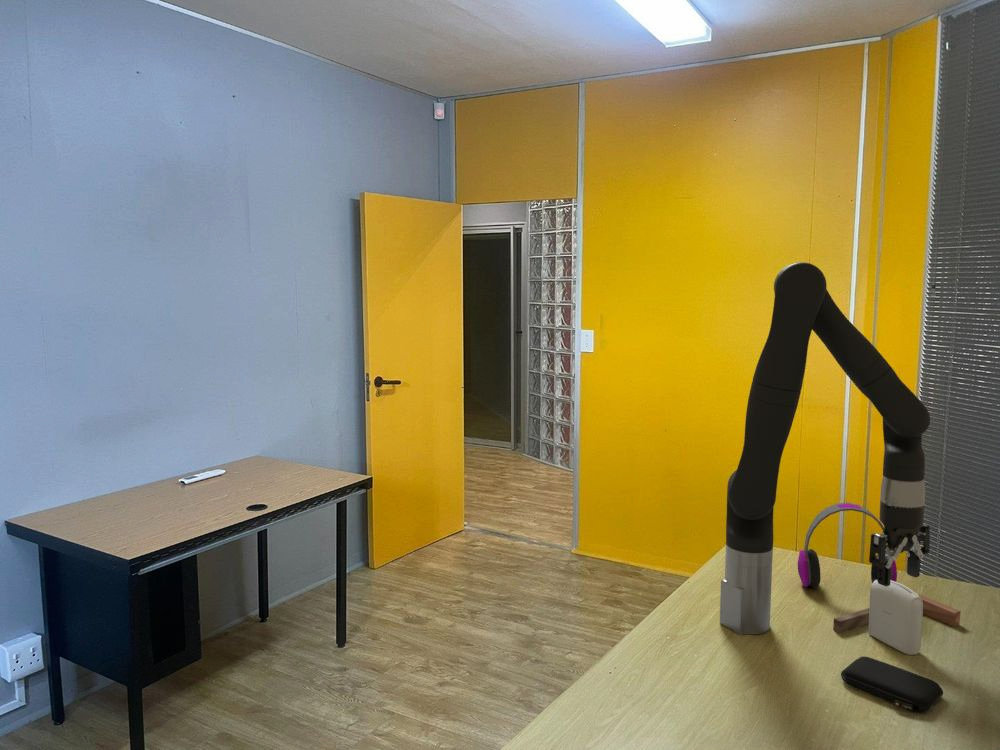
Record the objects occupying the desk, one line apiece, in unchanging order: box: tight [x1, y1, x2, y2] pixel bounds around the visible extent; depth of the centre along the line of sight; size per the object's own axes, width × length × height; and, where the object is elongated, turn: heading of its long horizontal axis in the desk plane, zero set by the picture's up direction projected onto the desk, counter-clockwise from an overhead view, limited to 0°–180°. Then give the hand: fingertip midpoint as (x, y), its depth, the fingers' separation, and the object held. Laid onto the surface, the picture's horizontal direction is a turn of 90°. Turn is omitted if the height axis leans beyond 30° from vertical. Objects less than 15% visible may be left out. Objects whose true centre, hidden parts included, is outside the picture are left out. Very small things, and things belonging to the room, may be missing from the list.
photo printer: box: [868, 580, 924, 656], centre depth 146 cm, size 10×4×12 cm, turn 20°
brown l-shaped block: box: [832, 594, 961, 634], centre depth 153 cm, size 25×10×3 cm, turn 116°
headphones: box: [797, 502, 898, 589], centre depth 171 cm, size 21×9×20 cm, turn 77°
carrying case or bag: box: [840, 656, 944, 714], centre depth 130 cm, size 11×3×15 cm
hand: (898, 580), depth 145 cm, fingers open, 8 cm apart
